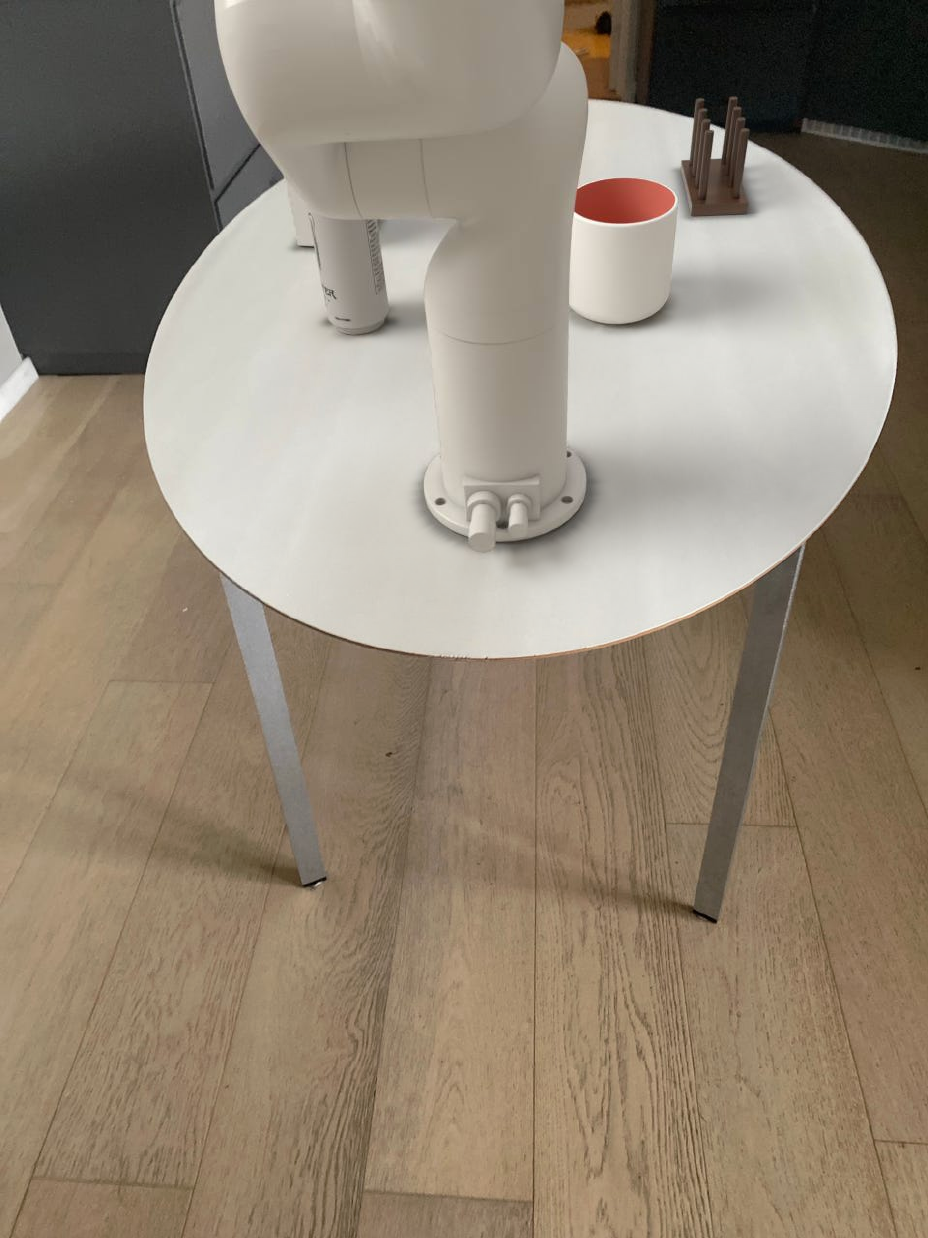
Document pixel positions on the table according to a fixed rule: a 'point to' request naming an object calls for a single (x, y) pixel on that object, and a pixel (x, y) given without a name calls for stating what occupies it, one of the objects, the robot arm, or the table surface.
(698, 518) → the table surface
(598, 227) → the cup
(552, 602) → the table surface
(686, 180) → the dish rack
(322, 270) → the energy drink can
